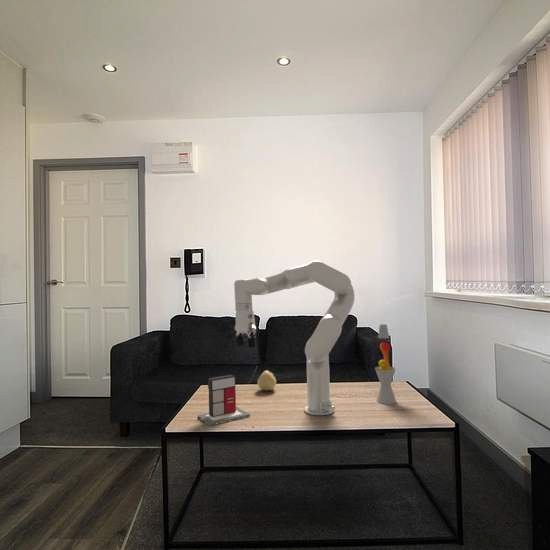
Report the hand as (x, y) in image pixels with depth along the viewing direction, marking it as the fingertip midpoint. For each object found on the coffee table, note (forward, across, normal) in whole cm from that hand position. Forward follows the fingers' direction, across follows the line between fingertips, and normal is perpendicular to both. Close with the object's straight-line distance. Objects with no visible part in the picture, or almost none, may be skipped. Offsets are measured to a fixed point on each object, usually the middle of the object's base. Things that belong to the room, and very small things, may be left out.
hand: (245, 346), depth 163 cm
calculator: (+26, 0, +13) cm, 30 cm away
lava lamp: (+30, -30, -55) cm, 69 cm away
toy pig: (+28, +21, -24) cm, 42 cm away
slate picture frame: (+27, -2, +13) cm, 30 cm away
